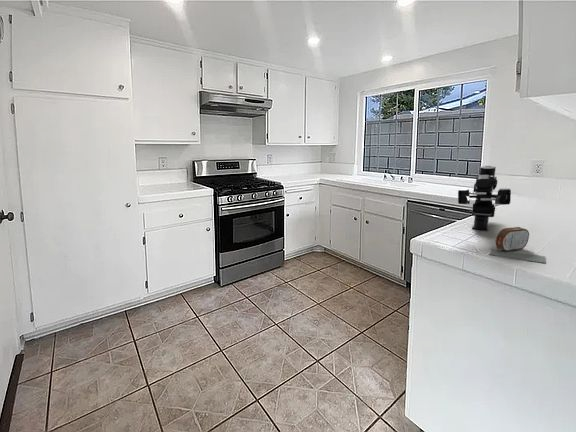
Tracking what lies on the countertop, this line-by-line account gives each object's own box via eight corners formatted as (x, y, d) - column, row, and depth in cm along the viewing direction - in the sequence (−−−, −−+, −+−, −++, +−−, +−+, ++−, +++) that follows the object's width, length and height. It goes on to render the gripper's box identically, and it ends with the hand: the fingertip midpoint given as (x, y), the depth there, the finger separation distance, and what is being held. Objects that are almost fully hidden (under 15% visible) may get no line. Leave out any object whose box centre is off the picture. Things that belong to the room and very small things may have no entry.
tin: (520, 246, 126) (523, 225, 124) (529, 248, 123) (532, 227, 121) (493, 250, 120) (496, 228, 119) (501, 253, 117) (504, 230, 116)
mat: (491, 249, 123) (492, 248, 123) (545, 257, 114) (545, 256, 114) (489, 254, 117) (489, 254, 117) (545, 263, 108) (545, 262, 108)
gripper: (460, 174, 144) (455, 183, 132) (511, 172, 133) (511, 182, 121) (460, 198, 147) (455, 209, 135) (510, 198, 136) (510, 210, 124)
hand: (481, 202), depth 129 cm, fingers open, 9 cm apart
